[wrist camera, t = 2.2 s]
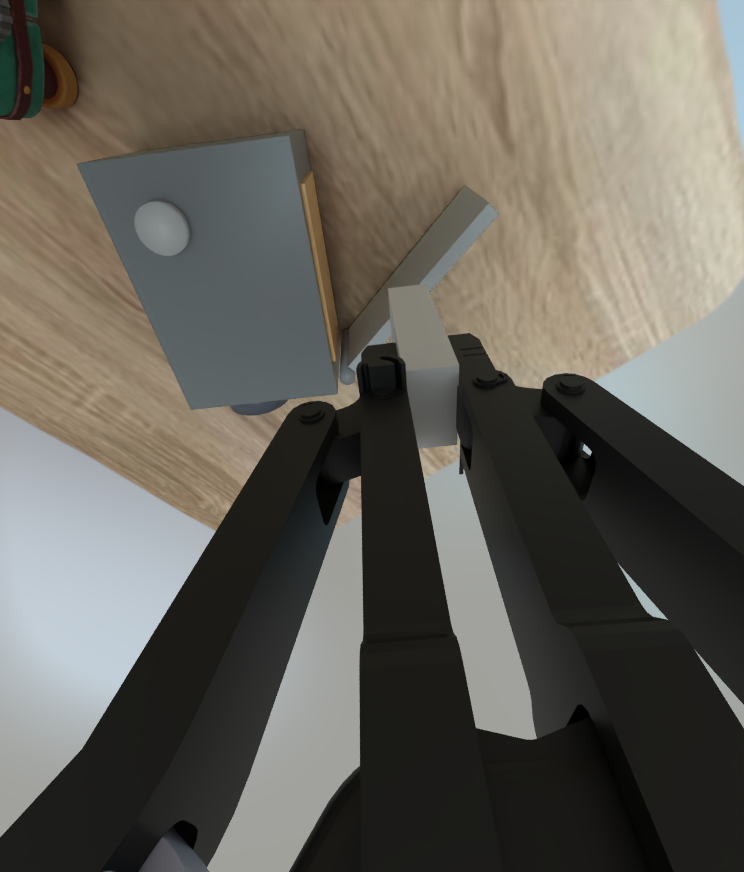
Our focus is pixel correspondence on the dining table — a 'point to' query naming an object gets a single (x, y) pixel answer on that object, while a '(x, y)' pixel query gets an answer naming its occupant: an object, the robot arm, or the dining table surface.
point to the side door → (418, 272)
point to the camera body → (227, 265)
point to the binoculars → (30, 65)
